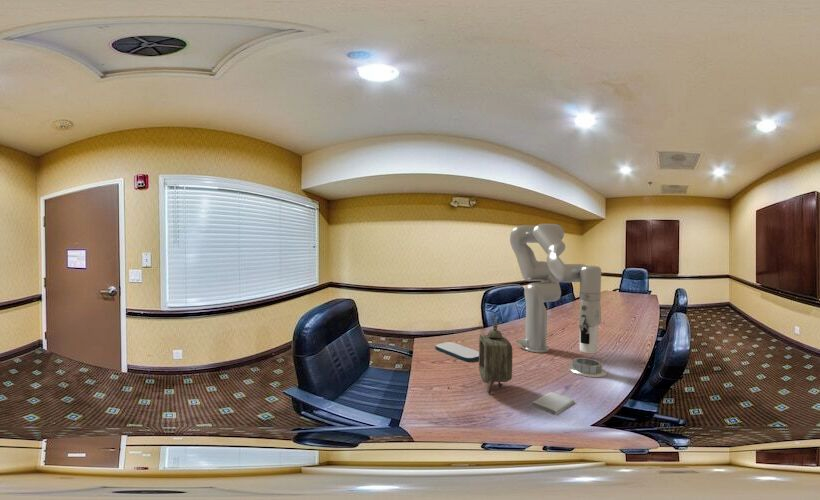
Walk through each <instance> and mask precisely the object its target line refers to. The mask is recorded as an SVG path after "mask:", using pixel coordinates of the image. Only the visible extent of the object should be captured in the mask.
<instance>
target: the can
mask: <svg viewBox="0 0 820 500" xmlns="http://www.w3.org/2000/svg"><path fill="white" fill-rule="evenodd" d="M584 325H586V326H588V325H587V324H584ZM584 328H586V330H587V327H584ZM588 334H590V336H589V344H584V343H581V342H580V341H581V333H580V332H579V351H580V352H581V353H583V354H586V355H587V354H588V355H595V354H597V353H598V348H599V347H598V344H599V325H596V326H594V327H589V333H588Z"/></svg>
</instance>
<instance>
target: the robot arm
mask: <svg viewBox="0 0 820 500" xmlns="http://www.w3.org/2000/svg"><path fill="white" fill-rule="evenodd" d="M564 237H565V231H564V229H563V227H562V225H561V226H560V224H557V223H556V224H555V223H539V224H537V225H528V224H527V225H517V226H515V227H514V228H512V230H511V232H510V234H509V242H510V246H511V248H512V250H513V253H514V254H515V257H516V260H517V264H518V267H519V270H520V273H521V276H522V278H523V280H525V281H527V282H531V283H528V284H527V285H526V286H525V288H524V290H523V292H524V299H525V334H524V335H525V337H524V336H523V338H521V339H519V338H518V339H516V338H515V339H514V344H518V345H519V346H520V345H521V348H522V349H523V350H524V351H527V352H532V353H541V354H543V353H547V352H550V348H551V347H550V346H548V345H547V334H548V333H547V331H548V330H547V329H548V310H547V307H546V306H545V303H552V302H556V301H559V300H560V299H561V296H562V290H561V286H560V282H561V283H563V284H564V283H579V301H580V303H579V310H578V311H579V313H578V323H579V324H578V327H579V334H580V333H581V341H580V340H579V343H580V342H581V343H584V344H589V336H590V334H588V333H589V327H594V326H596V325H598V326H600V325H601V323H602V310H601V293H602V291H601V290H602V287H601V286H602V269H601V267H600V266H596V265H586V264H584V263H564V261H563V260H562V259H561V258H560V257H559V256H561V255H562V254H563V253H564V252H565V249H566V244H565V242H564V241H563V239H564ZM527 243H528V244H533V243H534V244H537V243H538V244H539V246H540V247H541V248H542V249H543V251H544V252H545V254H546V255H547V257H546V261H545V260H543V261H542V260H539V261H538V260H537V258H536V256H535V253H534V251H533V249H532V248H531V247H530V245H528V244H527ZM584 324H587V325H588V326H586V325H584ZM584 327H587V330H586V328H584Z"/></svg>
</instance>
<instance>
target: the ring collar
mask: <svg viewBox="0 0 820 500" xmlns="http://www.w3.org/2000/svg"><path fill="white" fill-rule="evenodd" d="M567 369H568V370H569V372H571V373H573V374H575V375H579V376H583V377H586V378H594V379H596V378H597V379H599V378H605V377H606V376H607V375H608V371H607V370H606V369H604V368H603V363H602V362H601V361H599V360H597V359H594V358H593V359H592V358H588V357H576V358H573V360H572V363H570V364H569V365H568V366H567Z"/></svg>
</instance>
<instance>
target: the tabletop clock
mask: <svg viewBox="0 0 820 500" xmlns="http://www.w3.org/2000/svg"><path fill="white" fill-rule="evenodd" d="M492 328H493V329H490V330H489V331H488V332H487V334H480V335H479V341H478V342H479V343H478V344H479V345H478V351H479V360H478V370H479V373H480V376H481V381H482V382H484V383H486V382H488V383H490V384H489V388H487V390H486V393H487V394H492V391H493V390H492V387H493V385H494V383H497V387H498V388H499V389H500V388H502V387H503V383H508V382H509V381H510V380H512V376H513V346H512V344H511V342H510V340H509V339H508V338H506V337H505V336H503V334H502V332H501V331H500V330H498V319H497V317H496V316H493V317H492Z"/></svg>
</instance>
